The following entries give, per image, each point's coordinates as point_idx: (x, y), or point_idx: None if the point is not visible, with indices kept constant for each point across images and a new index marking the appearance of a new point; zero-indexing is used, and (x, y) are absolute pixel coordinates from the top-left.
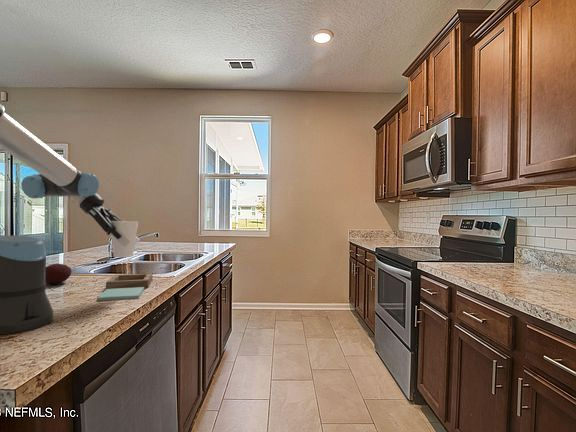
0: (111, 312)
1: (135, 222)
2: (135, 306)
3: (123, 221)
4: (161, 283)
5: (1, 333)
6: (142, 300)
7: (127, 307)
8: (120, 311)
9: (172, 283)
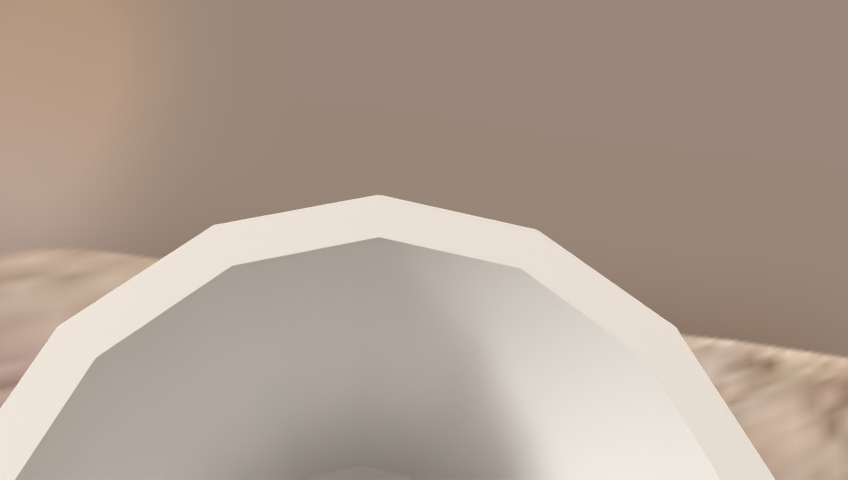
0: (841, 472)
1: (500, 234)
2: (714, 365)
3: (769, 476)
4: (11, 344)
5: None
6: None
7: (737, 408)
8: (817, 423)
9: (43, 252)
